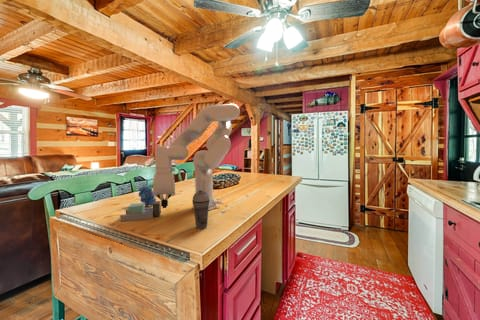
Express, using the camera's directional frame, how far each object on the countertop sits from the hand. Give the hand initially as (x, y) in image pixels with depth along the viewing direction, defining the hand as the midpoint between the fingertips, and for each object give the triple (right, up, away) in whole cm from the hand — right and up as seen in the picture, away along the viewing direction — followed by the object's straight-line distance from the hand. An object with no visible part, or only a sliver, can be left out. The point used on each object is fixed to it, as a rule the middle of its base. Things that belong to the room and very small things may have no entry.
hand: (164, 207), depth 113 cm
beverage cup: (+21, -5, -17) cm, 27 cm away
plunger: (-6, -3, -1) cm, 7 cm away
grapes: (-15, -3, +15) cm, 22 cm away
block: (-13, -4, -2) cm, 13 cm away
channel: (-12, -4, -2) cm, 12 cm away
